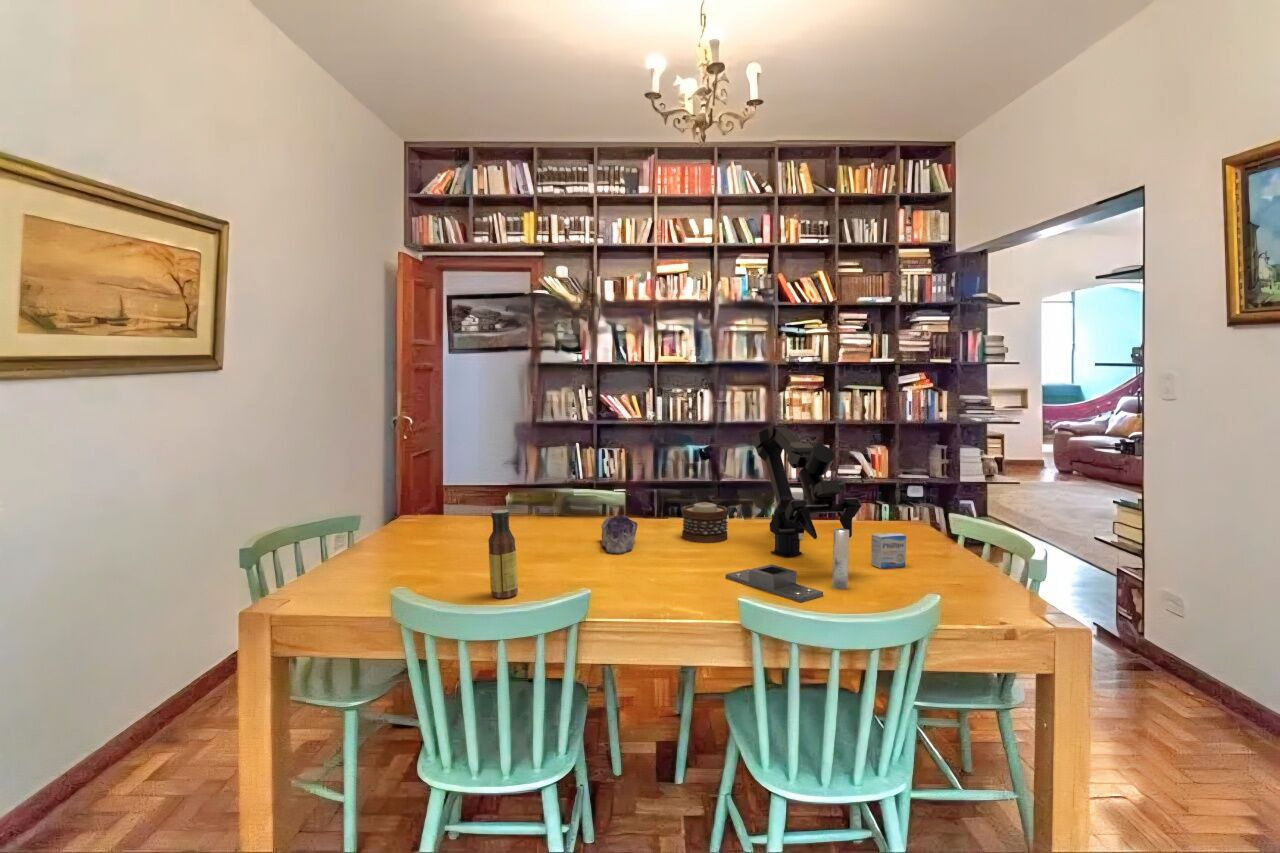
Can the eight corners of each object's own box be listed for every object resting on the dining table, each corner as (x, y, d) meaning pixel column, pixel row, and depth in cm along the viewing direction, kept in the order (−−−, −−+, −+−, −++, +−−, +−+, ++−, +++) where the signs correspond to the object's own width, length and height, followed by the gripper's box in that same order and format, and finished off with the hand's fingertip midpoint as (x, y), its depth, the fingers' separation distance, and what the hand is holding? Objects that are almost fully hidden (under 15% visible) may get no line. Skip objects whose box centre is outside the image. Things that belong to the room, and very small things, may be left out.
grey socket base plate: (725, 578, 178) (725, 562, 178) (747, 572, 183) (748, 557, 182) (800, 602, 159) (800, 585, 159) (823, 595, 164) (823, 579, 163)
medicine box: (880, 569, 186) (881, 537, 186) (870, 565, 191) (871, 533, 190) (905, 567, 189) (906, 535, 188) (895, 562, 193) (896, 531, 192)
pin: (829, 586, 171) (830, 529, 170) (838, 583, 173) (839, 527, 172) (841, 590, 168) (843, 532, 167) (850, 587, 170) (852, 530, 169)
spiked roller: (732, 500, 226) (724, 509, 212) (732, 534, 227) (723, 545, 213) (687, 498, 231) (676, 506, 216) (687, 531, 232) (676, 541, 217)
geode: (641, 555, 201) (637, 521, 200) (601, 561, 201) (596, 527, 200) (639, 536, 221) (635, 505, 220) (602, 541, 221) (598, 510, 220)
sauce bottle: (519, 591, 167) (518, 508, 166) (515, 599, 161) (514, 513, 159) (491, 591, 167) (490, 508, 165) (486, 599, 161) (485, 513, 159)
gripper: (790, 468, 176) (808, 520, 166) (858, 466, 180) (880, 517, 170) (777, 494, 184) (794, 546, 174) (843, 492, 188) (863, 542, 178)
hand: (833, 537), depth 174 cm, fingers open, 9 cm apart
